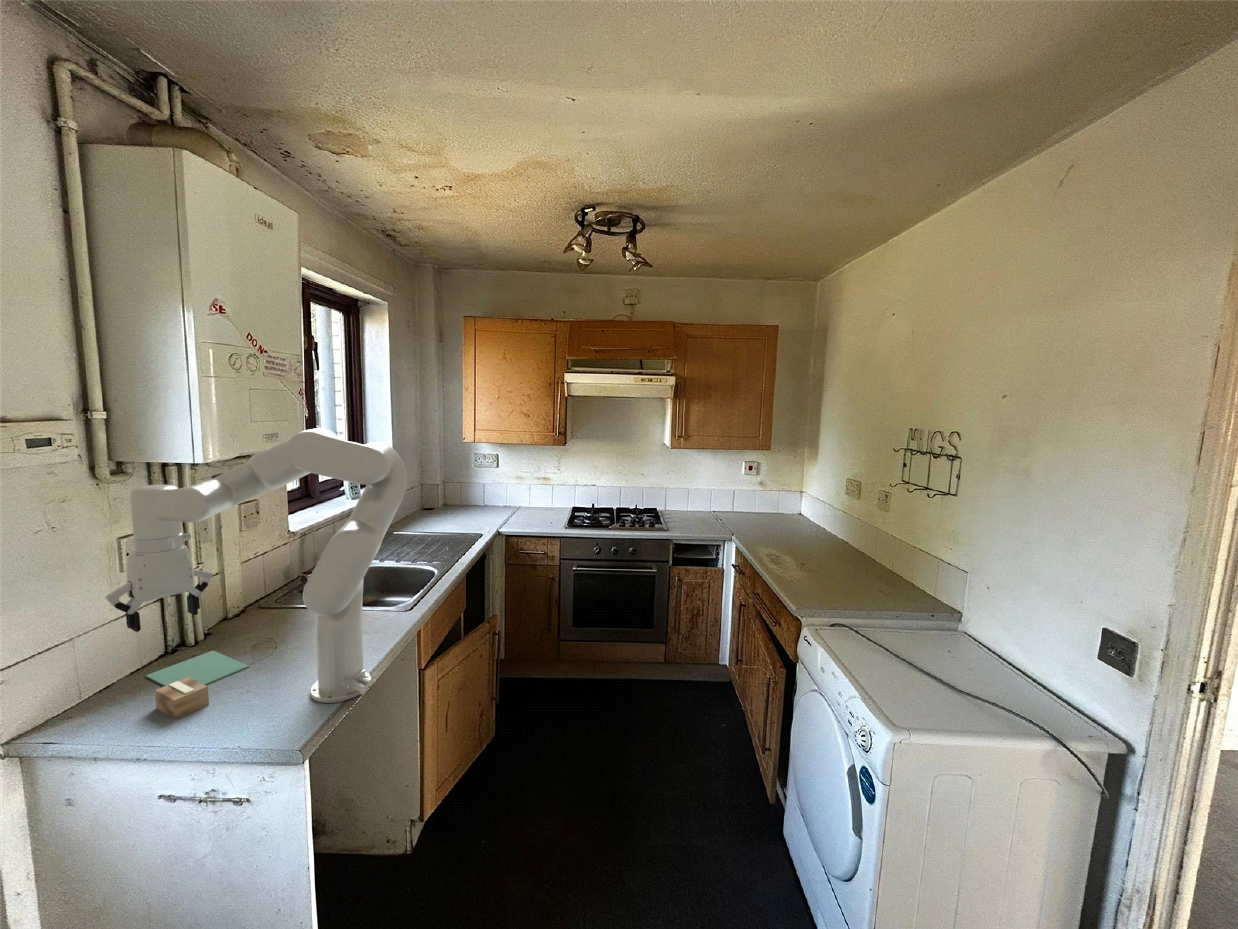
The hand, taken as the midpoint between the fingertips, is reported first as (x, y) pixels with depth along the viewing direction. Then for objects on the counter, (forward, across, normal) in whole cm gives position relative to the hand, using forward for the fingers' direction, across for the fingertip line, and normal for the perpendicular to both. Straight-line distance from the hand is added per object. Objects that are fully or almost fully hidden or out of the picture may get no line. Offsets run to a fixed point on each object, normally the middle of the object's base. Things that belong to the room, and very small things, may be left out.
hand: (165, 621), depth 107 cm
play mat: (+20, -9, -12) cm, 25 cm away
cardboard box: (+20, -1, +2) cm, 20 cm away
